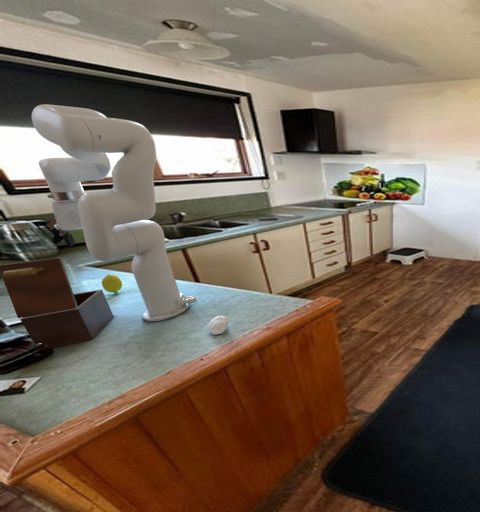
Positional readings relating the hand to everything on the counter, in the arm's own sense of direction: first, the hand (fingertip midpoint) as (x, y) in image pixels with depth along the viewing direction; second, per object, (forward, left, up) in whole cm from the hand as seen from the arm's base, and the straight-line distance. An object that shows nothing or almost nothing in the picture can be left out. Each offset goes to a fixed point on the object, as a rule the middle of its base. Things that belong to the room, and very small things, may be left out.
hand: (89, 243), depth 100 cm
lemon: (-1, -1, -22) cm, 22 cm away
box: (-3, +29, -21) cm, 36 cm away
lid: (-3, +34, -4) cm, 34 cm away
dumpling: (-43, +48, -22) cm, 68 cm away
